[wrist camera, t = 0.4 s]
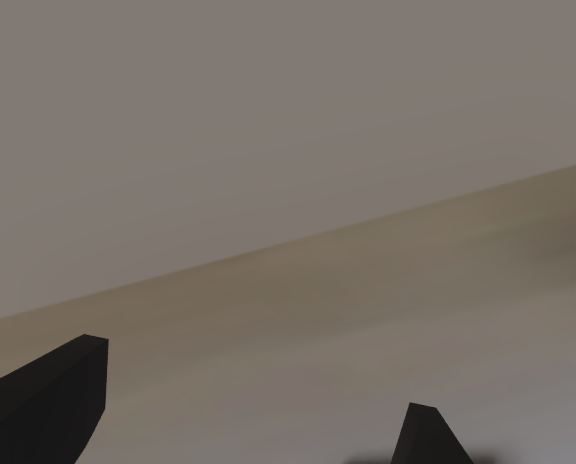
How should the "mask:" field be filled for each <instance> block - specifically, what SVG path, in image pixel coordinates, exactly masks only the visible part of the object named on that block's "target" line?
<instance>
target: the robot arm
mask: <svg viewBox="0 0 576 464" xmlns="http://www.w3.org/2000/svg"><path fill="white" fill-rule="evenodd" d="M108 342H109V339H105V338H100V337H96V336H91V335H86V334H83V335H81V336H79V337H77V338H75V339H73V340H71V341H69V342H67V343H66V344H64V345H62V346H60V347H58V348H56V349H54V350H53V351H51V352H49V353H47V354H45V355H43V356H42V357H40V358H38V359H36V360H34V361H32V362H30V363H28V364H27V365H25V366H23V367H21V368H19V369H17V370H15V371H13V372H11V373H10V374H8V375H6V376H4V377H1V378H0V464H75V462H76V461H77V459H78V458H79V456H80V455H81V453H82V452H83V450H84V449H85V447H86V445H87V443H88V441H89V439H90V438H91V436H92V434H93V432H94V430H95V428H96V426H97V424H98V422H99V420H100V418H101V416H102V414H103V412H104V410H105V402H106V382H107V362H108ZM391 464H474V463H473V462H472V460H471V459H470V457H469V456H468V455H467V453H466V452H465V450H464V449H463V447H462V446H461V444H460V443H459V441H458V440H457V438H456V437H455V435H454V434H453V432H452V431H451V429H450V428H449V426H448V425H447V423H446V422H445V420H444V419H443V417H442V416H441V414H440V413H439V411H438V410H437V408H435V407H430V406H425V405H420V404H415V403H411V402H410V404H409V407H408V410H407V413H406V416H405V420H404V423H403V426H402V429H401V432H400V436H399V439H398V442H397V445H396V448H395V452H394V455H393V458H392V461H391Z"/></svg>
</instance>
